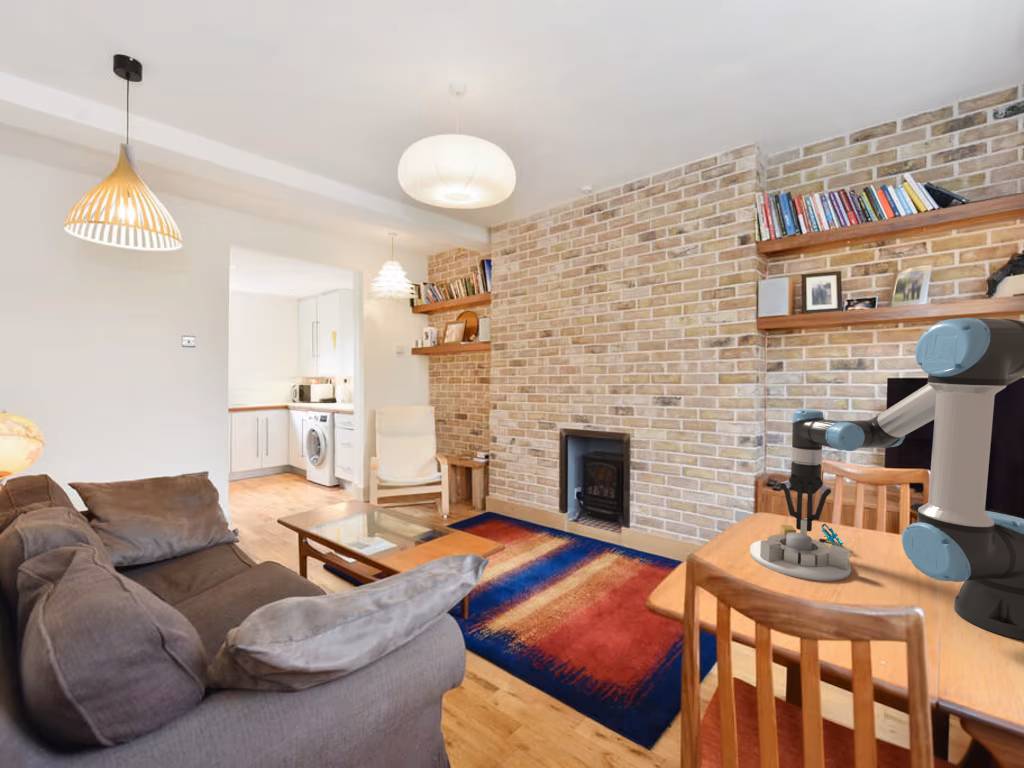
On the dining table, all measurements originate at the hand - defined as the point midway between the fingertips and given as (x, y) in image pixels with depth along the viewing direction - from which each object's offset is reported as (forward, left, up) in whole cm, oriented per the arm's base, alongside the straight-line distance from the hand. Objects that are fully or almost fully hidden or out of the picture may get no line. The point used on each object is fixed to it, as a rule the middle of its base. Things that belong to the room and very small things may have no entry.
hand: (803, 540), depth 139 cm
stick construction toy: (+4, -9, -3) cm, 11 cm away
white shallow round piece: (-8, +6, -3) cm, 10 cm away
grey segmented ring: (-6, +6, -1) cm, 8 cm away
